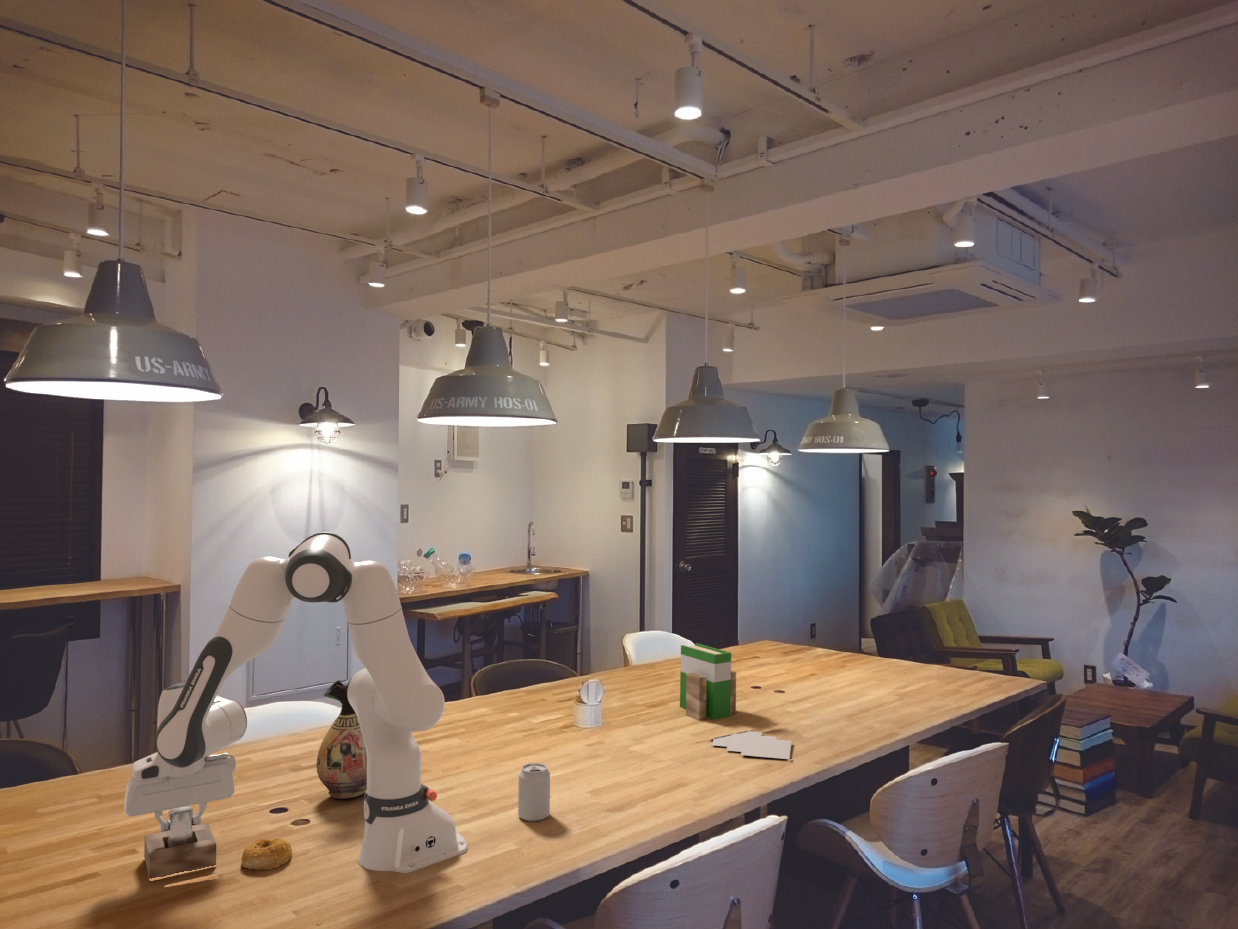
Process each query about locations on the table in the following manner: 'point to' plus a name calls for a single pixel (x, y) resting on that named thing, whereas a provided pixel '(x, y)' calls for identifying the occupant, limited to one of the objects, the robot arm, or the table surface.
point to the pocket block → (179, 852)
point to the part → (180, 826)
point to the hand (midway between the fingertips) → (180, 827)
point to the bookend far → (733, 693)
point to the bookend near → (696, 696)
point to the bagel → (266, 854)
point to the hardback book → (708, 677)
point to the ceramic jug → (343, 750)
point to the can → (534, 792)
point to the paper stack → (755, 745)
